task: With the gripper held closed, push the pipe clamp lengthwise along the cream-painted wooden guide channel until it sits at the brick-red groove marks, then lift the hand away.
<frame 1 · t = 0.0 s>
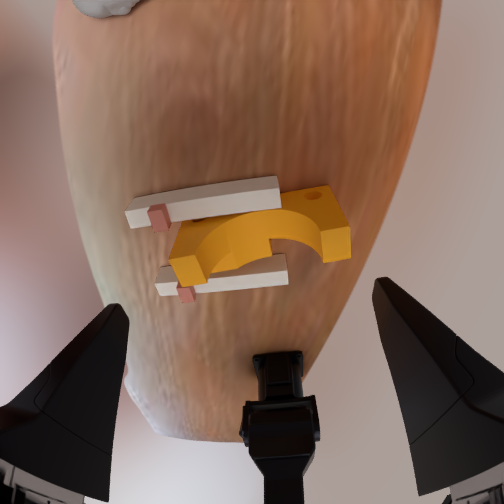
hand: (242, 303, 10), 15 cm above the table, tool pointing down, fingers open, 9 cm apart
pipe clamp: (260, 218, 25), on the table
guide channel: (213, 233, 25), on the table
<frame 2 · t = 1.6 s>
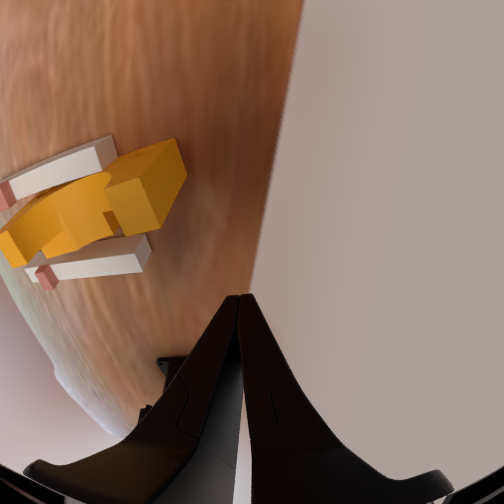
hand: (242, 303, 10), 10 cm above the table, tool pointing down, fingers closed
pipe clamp: (110, 190, 19), on the table
guide channel: (67, 212, 19), on the table
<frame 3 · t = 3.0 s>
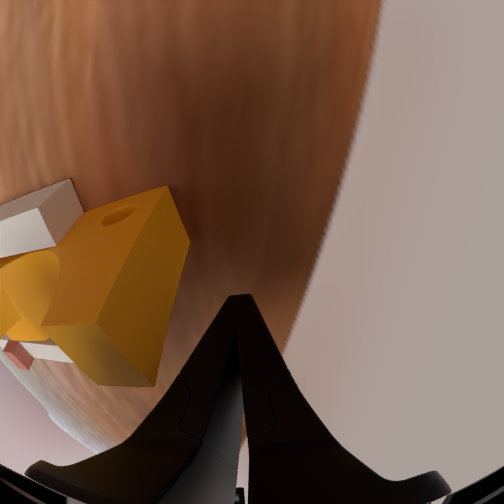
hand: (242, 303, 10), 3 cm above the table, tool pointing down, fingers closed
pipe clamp: (79, 256, 12), on the table, touching gripper
guide channel: (31, 277, 13), on the table
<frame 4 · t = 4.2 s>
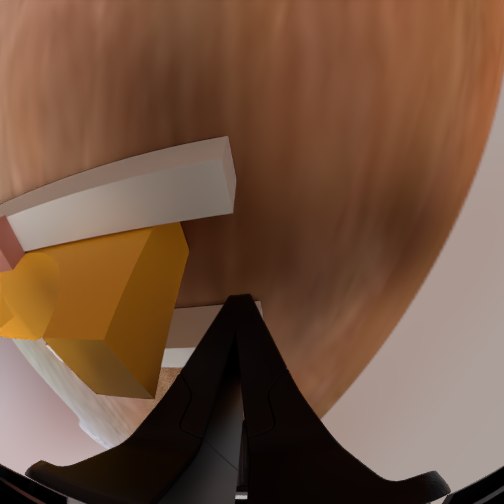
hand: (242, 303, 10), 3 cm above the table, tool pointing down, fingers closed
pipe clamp: (74, 257, 12), on the table, touching gripper
guide channel: (118, 265, 12), on the table
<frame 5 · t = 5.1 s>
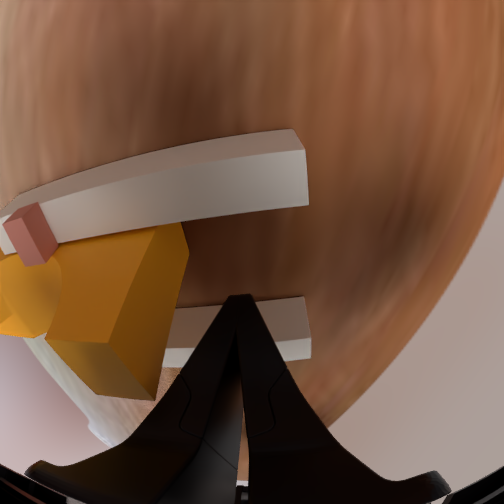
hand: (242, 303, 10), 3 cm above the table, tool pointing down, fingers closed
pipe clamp: (73, 256, 12), on the table, touching gripper, guide channel
guide channel: (158, 260, 12), on the table
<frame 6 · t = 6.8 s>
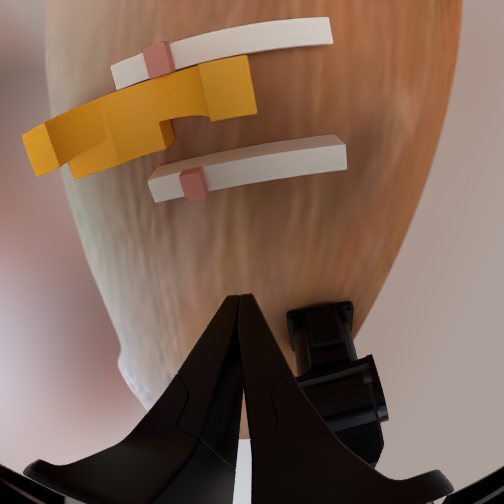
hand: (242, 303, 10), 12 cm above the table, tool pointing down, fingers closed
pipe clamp: (162, 109, 17), on the table
guide channel: (233, 103, 16), on the table
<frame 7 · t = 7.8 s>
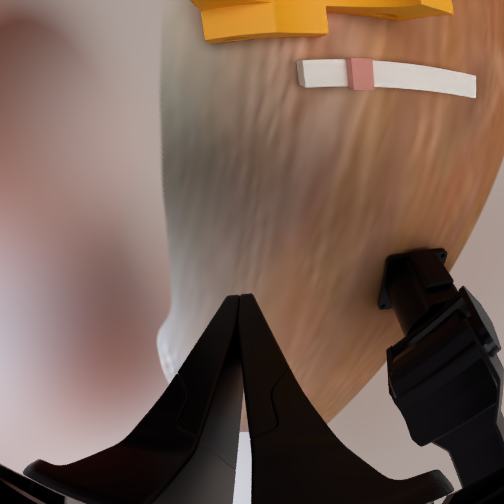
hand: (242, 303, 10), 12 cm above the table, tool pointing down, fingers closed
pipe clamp: (307, 7, 13), on the table
guide channel: (382, 20, 12), on the table
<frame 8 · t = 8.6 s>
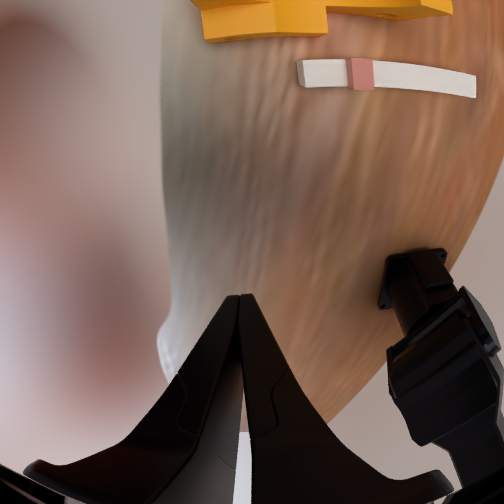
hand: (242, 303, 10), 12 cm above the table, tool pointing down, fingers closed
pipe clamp: (307, 7, 13), on the table
guide channel: (382, 20, 12), on the table
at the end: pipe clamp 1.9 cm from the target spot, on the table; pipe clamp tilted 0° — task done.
